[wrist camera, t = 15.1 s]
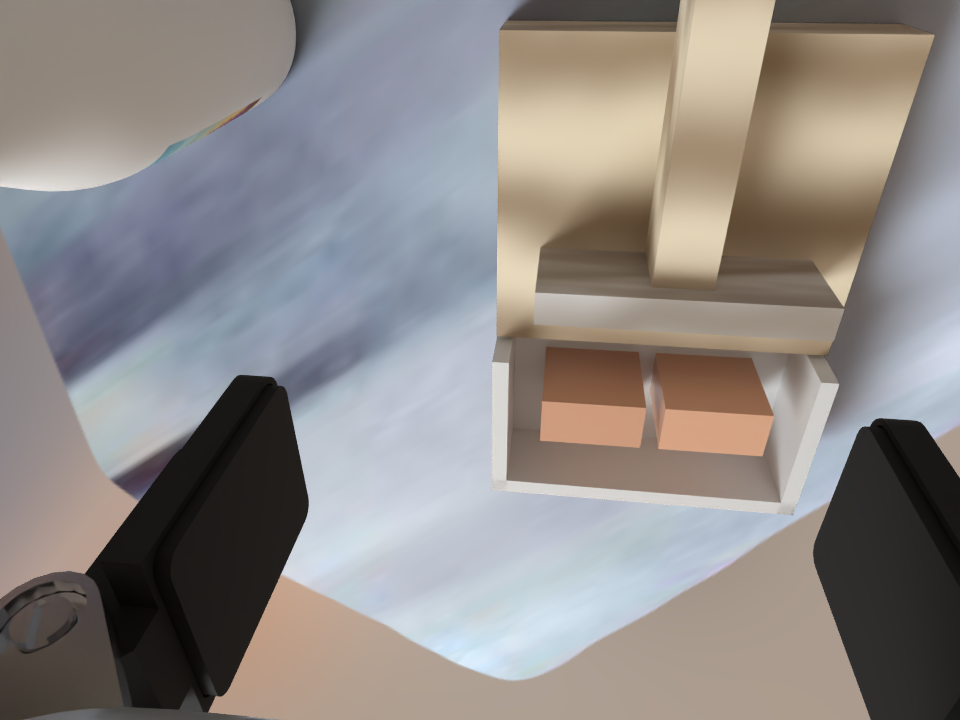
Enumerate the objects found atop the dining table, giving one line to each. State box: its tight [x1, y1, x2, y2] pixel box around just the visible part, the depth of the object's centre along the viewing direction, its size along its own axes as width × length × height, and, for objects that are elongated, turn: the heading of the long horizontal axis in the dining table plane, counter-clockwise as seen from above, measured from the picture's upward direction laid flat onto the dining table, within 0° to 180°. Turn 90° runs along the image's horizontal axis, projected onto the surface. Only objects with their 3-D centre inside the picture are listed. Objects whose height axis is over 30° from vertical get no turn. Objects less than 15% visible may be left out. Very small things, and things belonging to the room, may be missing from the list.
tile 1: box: [650, 353, 774, 456], centre depth 35 cm, size 5×5×2 cm
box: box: [492, 336, 839, 515], centre depth 36 cm, size 8×16×5 cm, turn 90°
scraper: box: [534, 0, 845, 342], centre depth 26 cm, size 12×12×4 cm
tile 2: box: [540, 347, 646, 448], centre depth 35 cm, size 5×5×2 cm
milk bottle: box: [0, 0, 296, 191], centre depth 22 cm, size 8×8×20 cm
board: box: [497, 20, 935, 356], centre depth 30 cm, size 14×16×3 cm
